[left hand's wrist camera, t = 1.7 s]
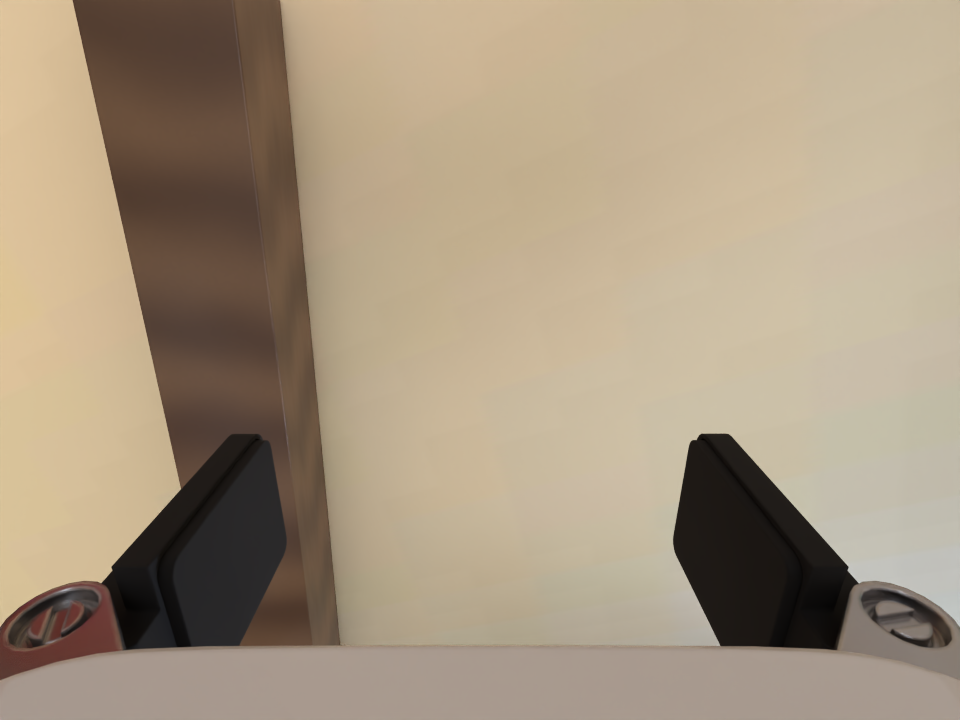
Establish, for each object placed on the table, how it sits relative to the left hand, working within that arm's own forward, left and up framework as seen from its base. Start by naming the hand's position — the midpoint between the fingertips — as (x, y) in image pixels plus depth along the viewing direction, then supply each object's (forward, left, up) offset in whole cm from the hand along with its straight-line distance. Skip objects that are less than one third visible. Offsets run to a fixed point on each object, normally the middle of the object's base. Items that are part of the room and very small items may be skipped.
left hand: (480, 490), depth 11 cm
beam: (+16, -14, -21) cm, 30 cm away
